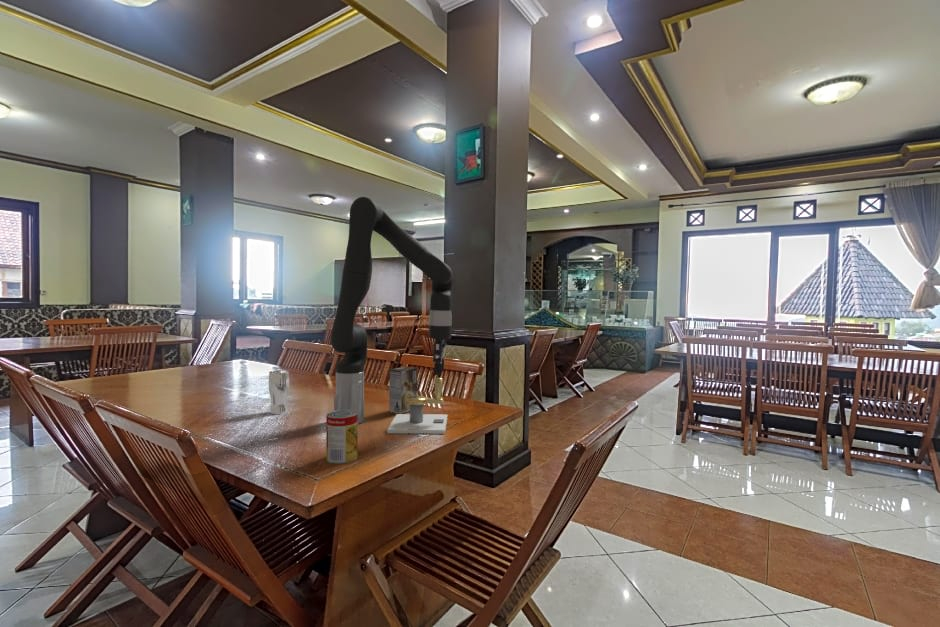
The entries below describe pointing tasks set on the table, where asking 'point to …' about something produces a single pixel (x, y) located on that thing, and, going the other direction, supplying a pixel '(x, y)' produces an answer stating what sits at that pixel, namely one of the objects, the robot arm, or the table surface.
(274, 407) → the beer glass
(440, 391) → the coupling
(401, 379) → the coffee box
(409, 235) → the robot arm
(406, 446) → the table surface
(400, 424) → the base
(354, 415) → the canned food
